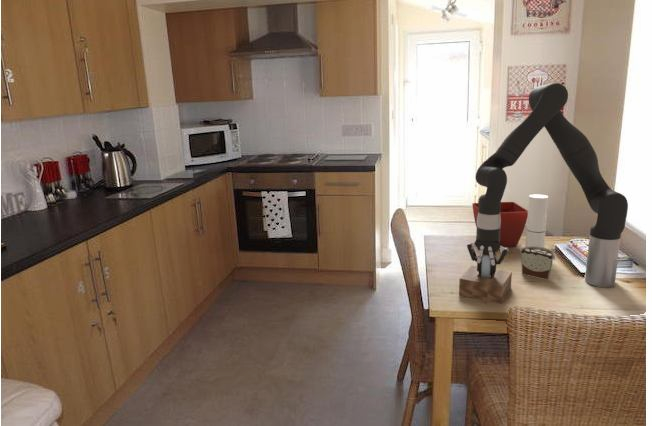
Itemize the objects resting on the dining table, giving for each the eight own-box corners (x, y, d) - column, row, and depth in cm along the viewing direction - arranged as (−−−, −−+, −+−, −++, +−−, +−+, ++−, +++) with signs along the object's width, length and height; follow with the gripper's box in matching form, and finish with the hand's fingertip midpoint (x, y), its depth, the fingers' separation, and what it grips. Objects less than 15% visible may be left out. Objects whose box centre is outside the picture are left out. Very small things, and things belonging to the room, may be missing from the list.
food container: (558, 276, 175) (560, 250, 173) (552, 281, 171) (554, 254, 168) (524, 268, 183) (526, 244, 181) (518, 273, 179) (519, 248, 177)
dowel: (492, 281, 164) (493, 254, 162) (489, 284, 161) (491, 257, 159) (482, 279, 166) (483, 252, 163) (479, 283, 163) (480, 255, 161)
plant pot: (470, 237, 223) (471, 202, 219) (511, 236, 223) (513, 201, 219) (482, 250, 205) (483, 212, 201) (526, 249, 204) (529, 211, 200)
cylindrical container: (544, 253, 199) (549, 195, 192) (542, 258, 193) (546, 198, 186) (526, 250, 202) (530, 193, 196) (523, 256, 197) (527, 197, 190)
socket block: (510, 287, 166) (511, 271, 165) (501, 303, 155) (502, 286, 154) (470, 280, 174) (471, 265, 172) (458, 294, 163) (459, 278, 161)
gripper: (513, 225, 158) (510, 273, 162) (470, 220, 165) (468, 266, 170) (508, 231, 152) (505, 281, 156) (464, 225, 159) (462, 273, 164)
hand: (486, 273), depth 163 cm, fingers closed on dowel, 3 cm apart
